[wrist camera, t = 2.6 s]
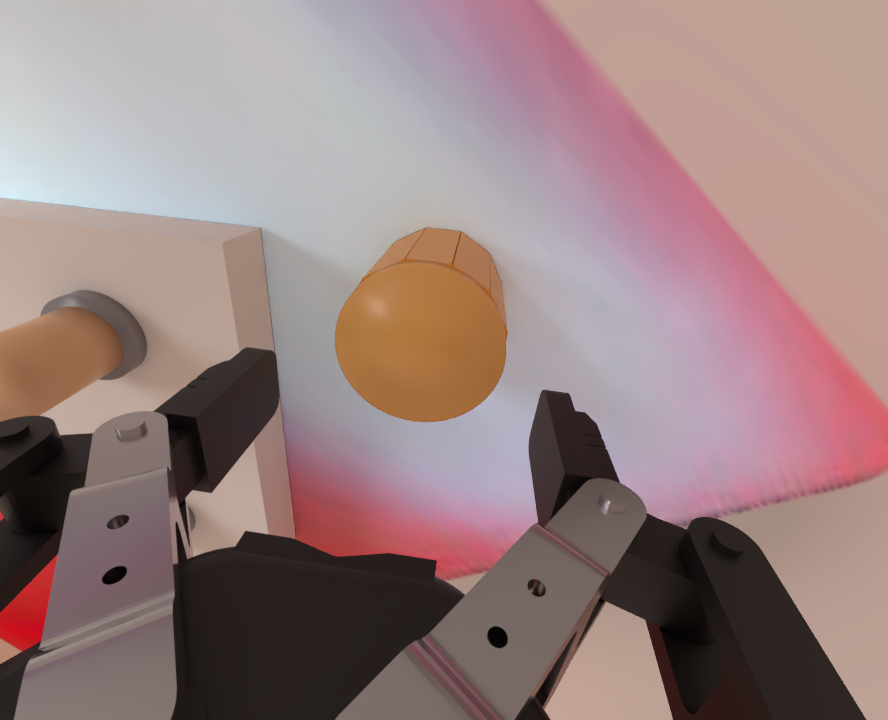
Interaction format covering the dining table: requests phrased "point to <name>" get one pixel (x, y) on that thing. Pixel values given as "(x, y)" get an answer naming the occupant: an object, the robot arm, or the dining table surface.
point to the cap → (425, 328)
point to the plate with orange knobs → (138, 336)
